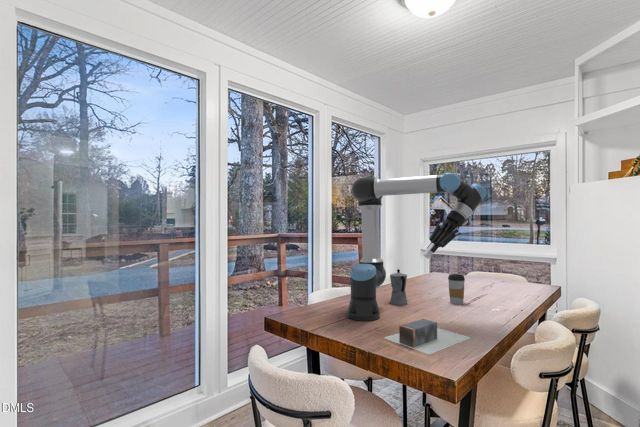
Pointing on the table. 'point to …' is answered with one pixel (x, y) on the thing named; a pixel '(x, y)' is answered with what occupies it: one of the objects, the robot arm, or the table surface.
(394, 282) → the coffeepot
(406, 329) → the slate block
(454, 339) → the sage mat
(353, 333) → the table surface
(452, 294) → the coffee cup
